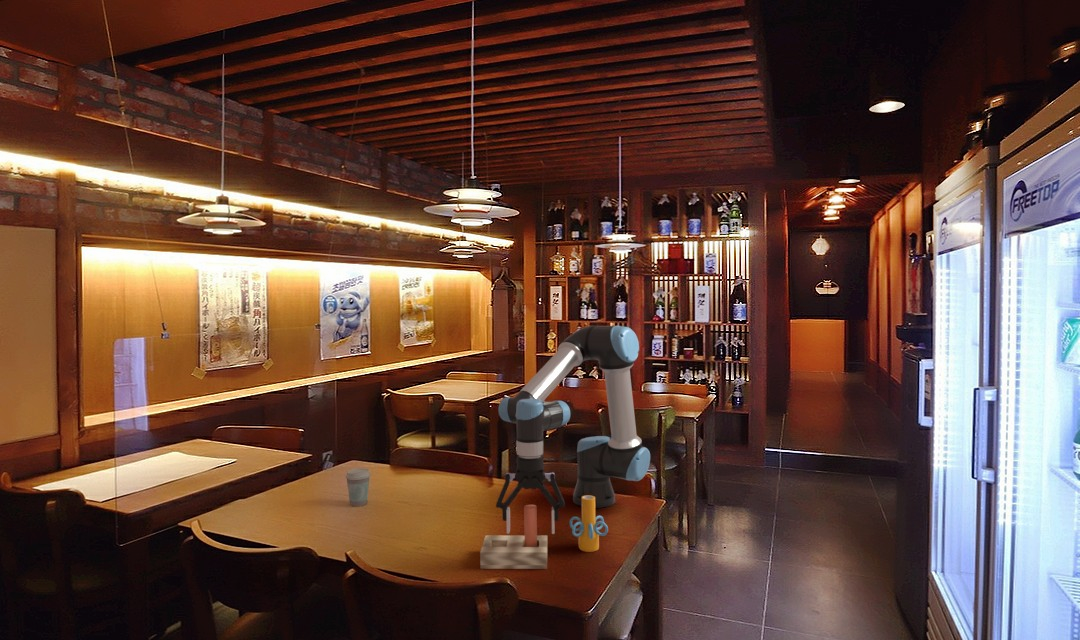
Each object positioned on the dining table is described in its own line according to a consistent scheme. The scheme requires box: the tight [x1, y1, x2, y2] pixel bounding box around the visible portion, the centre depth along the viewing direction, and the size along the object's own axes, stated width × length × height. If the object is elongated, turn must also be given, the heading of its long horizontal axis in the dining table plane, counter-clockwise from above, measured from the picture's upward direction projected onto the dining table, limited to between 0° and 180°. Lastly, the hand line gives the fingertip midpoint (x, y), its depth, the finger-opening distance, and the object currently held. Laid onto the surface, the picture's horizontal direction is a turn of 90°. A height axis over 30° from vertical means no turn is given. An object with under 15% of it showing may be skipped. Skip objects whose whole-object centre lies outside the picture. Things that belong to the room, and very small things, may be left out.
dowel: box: [523, 504, 538, 547], centre depth 170 cm, size 4×4×14 cm
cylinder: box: [569, 495, 609, 553], centre depth 178 cm, size 12×10×15 cm
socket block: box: [479, 534, 549, 570], centre depth 171 cm, size 18×12×4 cm, turn 88°
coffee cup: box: [345, 467, 371, 508], centre depth 220 cm, size 8×8×12 cm
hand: (530, 531), depth 170 cm, fingers open, 12 cm apart
